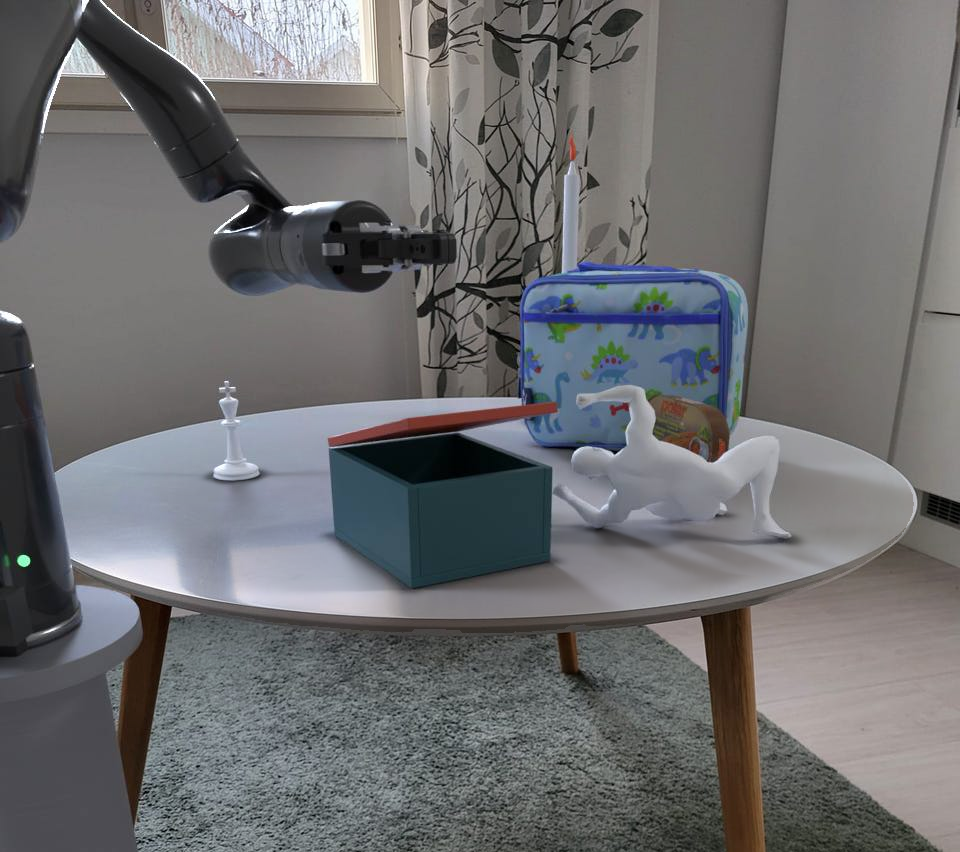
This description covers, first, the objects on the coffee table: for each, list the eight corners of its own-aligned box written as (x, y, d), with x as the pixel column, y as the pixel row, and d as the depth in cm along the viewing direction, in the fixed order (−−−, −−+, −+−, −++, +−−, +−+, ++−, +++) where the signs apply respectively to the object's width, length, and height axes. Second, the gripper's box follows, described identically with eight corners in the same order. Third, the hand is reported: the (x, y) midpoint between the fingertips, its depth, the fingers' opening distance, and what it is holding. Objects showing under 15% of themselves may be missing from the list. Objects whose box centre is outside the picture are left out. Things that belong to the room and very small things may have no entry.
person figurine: (751, 392, 88) (581, 368, 81) (837, 450, 79) (652, 429, 71) (701, 519, 95) (539, 507, 88) (774, 586, 85) (599, 580, 78)
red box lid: (558, 412, 73) (557, 401, 73) (409, 429, 68) (407, 418, 67) (458, 431, 88) (457, 422, 88) (328, 447, 82) (327, 437, 82)
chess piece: (261, 478, 104) (251, 384, 100) (213, 482, 103) (202, 386, 99) (258, 468, 108) (249, 377, 104) (213, 471, 107) (202, 379, 103)
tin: (632, 464, 109) (636, 388, 106) (657, 461, 110) (662, 386, 107) (702, 497, 96) (710, 411, 93) (730, 494, 97) (738, 409, 94)
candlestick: (521, 415, 136) (524, 136, 122) (597, 414, 137) (609, 136, 123) (529, 431, 126) (533, 129, 112) (611, 429, 127) (626, 129, 113)
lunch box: (507, 445, 118) (508, 262, 110) (543, 429, 127) (546, 259, 119) (717, 468, 107) (736, 266, 99) (741, 448, 116) (760, 262, 108)
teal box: (550, 561, 79) (553, 466, 75) (411, 589, 73) (407, 488, 70) (459, 514, 91) (458, 432, 88) (334, 535, 85) (328, 447, 82)
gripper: (266, 200, 82) (372, 194, 69) (397, 201, 89) (515, 196, 77) (274, 294, 85) (378, 304, 72) (401, 287, 92) (514, 296, 80)
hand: (448, 248), depth 75 cm, fingers closed
